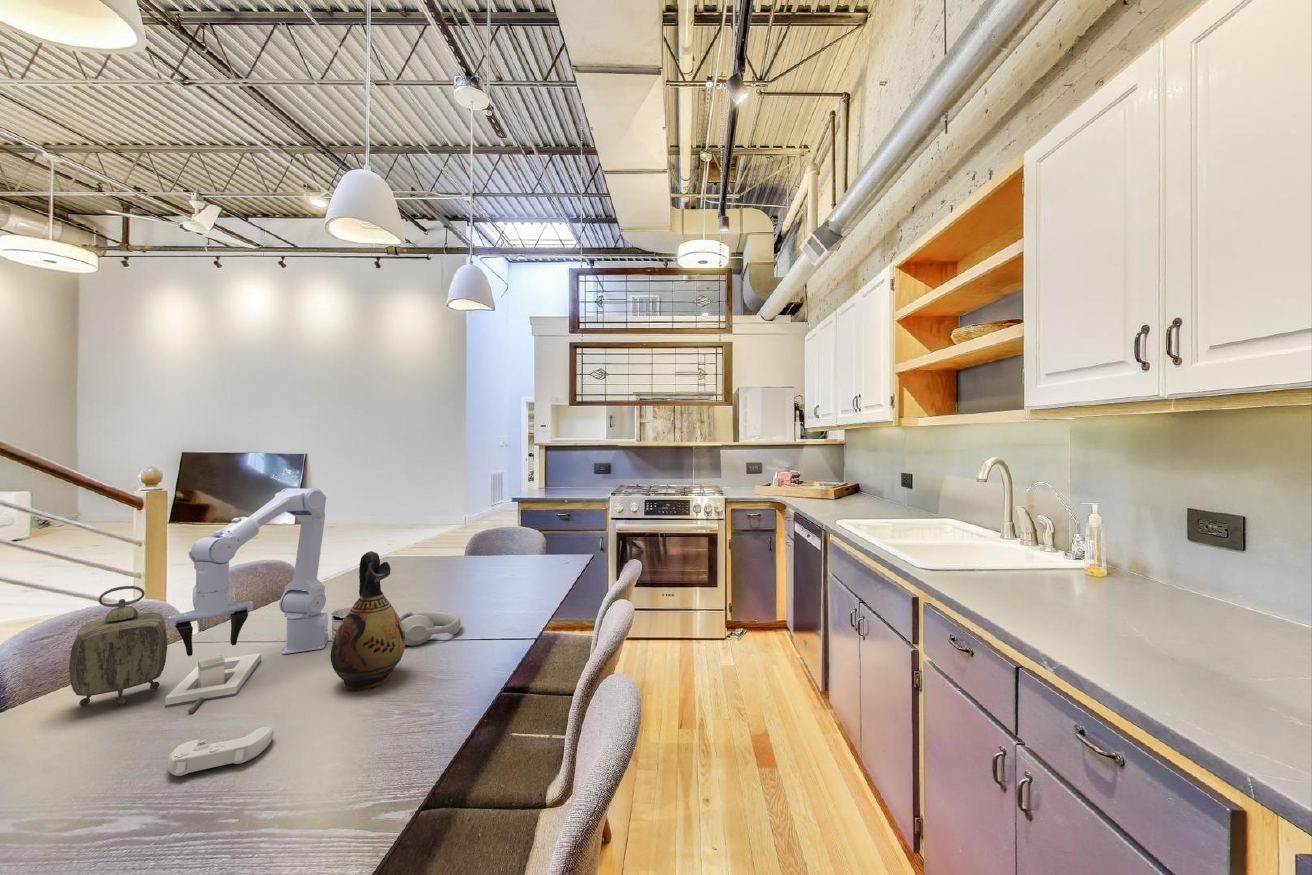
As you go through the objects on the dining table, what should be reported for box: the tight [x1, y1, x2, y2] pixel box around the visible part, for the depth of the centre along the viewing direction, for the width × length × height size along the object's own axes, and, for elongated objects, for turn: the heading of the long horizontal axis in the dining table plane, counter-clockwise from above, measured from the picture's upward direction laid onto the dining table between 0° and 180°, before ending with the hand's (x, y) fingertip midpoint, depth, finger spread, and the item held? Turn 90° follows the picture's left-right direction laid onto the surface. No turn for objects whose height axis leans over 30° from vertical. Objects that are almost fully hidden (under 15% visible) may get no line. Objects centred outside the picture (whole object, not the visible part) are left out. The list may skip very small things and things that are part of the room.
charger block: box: [197, 655, 225, 688], centre depth 116 cm, size 4×4×6 cm
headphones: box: [396, 610, 462, 646], centre depth 149 cm, size 18×8×20 cm
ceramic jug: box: [329, 550, 406, 692], centre depth 121 cm, size 17×15×30 cm
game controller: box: [166, 725, 275, 777], centre depth 90 cm, size 14×4×10 cm
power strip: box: [164, 653, 262, 714], centre depth 117 cm, size 12×26×2 cm, turn 25°
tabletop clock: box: [68, 585, 168, 707], centre depth 111 cm, size 14×9×25 cm, turn 134°
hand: (212, 649), depth 116 cm, fingers open, 7 cm apart
